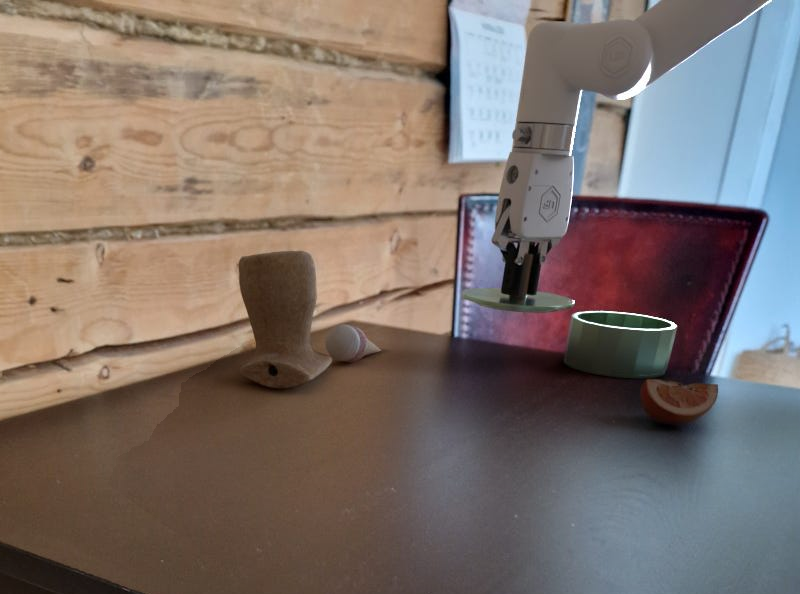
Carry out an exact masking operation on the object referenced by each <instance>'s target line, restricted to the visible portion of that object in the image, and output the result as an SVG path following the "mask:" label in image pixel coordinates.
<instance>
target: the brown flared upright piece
mask: <svg viewBox="0 0 800 594" xmlns="http://www.w3.org/2000/svg"><path fill="white" fill-rule="evenodd" d="M237 268H238V284H239V290H240V294H241V298H242V301H243V304H244V307H245V310H246V313H247V317H248V321H249V324H250V327H251V330H252V333H253V338H254V342H255V352H254V353H253V355H252V356H251V357H250V358H249V359H248V360H247V361H246V363H245V364H244V365H242V366H241V367H240V368H239V371H240V374H242V375H243V376H245V377H246V378H248V379H250V380H252V381H254V382H255V383H257V384H259V385H262V386H264V387H267V388H271V389H288V388H294V387H297V386H301V385H304V384H306V383H308V382H311V381H312V380H313V379H315V378H316V377H318V376H319V375H321V374H323V372H325V371H326V369H327V368H328V367H329V366H330V365H331V364H332V362H333V360H332V359H333V358H332V357H331V356H330V355H329V354H326V353H322V352H318V351H316V350H314V349H313V348H312V346H311V333H312V325H313V317H314V313H315V310H316V303H317V297H318V296H317V295H318V294H317V293H318V291H317V290H318V289H317V273H316V265H315V262H314V258H313V256H312V255H311V253H309V252H307V251H304V250H282V251H281V250H279V251H272V252H264V253H256V254H251V255H244V256H241V257H240V259H239V260H238V266H237Z"/></svg>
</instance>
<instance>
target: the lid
mask: <svg viewBox="0 0 800 594" xmlns="http://www.w3.org/2000/svg"><path fill="white" fill-rule="evenodd" d="M532 261H533V254H531V253H525V254H524V260H523V263H522V265H525V273H524V279H523V285H522V292H521V295H520V296H511V295H506V294H502V293H501V287H476V288H469V289H468V288H467V289H465V290H463V291H462V292H461V297H462V298H463V299H464V300H467V301H469V302H472V303H475V305H477V306H478V305H479V306H481V307H485V308H489V309H493V310H501V311H508V312H517V313H531V314H532V313H533V314H535V313H538V314H540V313H541V314H542V313H553V312H557V311H562V310H569V309H572V308H573V307H574V306H575V300H573V299H572V298H569V297H568V296H564V295H559V294H555V293H550V292H545V291H538V290H537V293H536V295H527V291H528V285H529V279H530V273H531V267H532Z"/></svg>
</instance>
